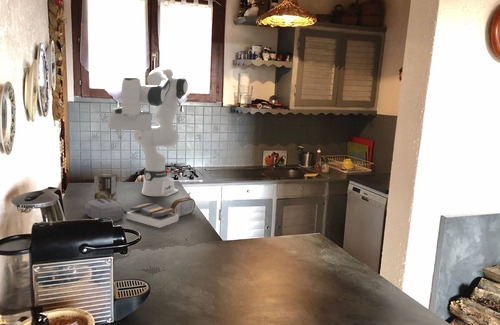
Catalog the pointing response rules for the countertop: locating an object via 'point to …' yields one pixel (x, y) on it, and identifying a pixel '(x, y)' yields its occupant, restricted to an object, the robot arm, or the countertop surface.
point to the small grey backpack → (104, 209)
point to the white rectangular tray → (152, 218)
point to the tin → (183, 206)
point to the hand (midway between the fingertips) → (129, 139)
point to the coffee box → (105, 186)
